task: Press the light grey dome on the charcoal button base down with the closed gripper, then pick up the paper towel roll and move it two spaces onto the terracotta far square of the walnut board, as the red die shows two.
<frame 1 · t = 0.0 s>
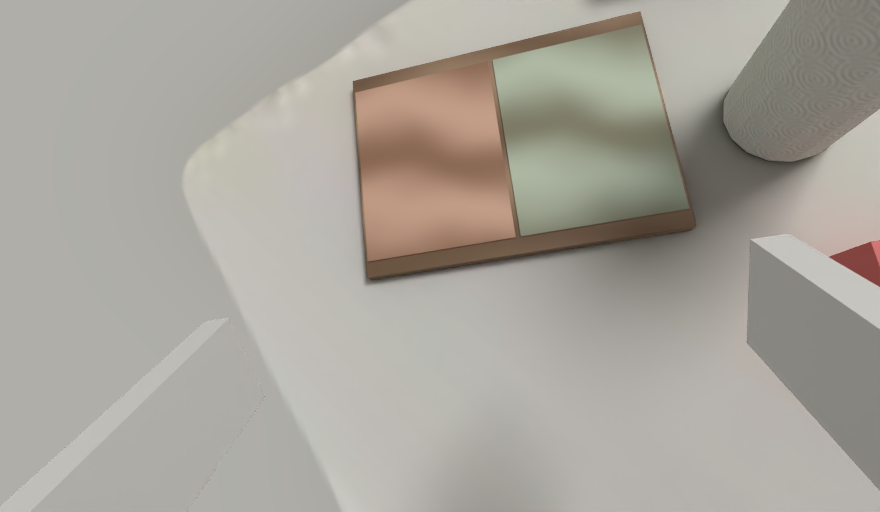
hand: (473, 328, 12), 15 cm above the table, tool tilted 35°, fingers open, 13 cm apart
game board: (504, 150, 29), on the table
paper towel roll: (786, 111, 26), on the table
red die: (875, 299, 23), on the table
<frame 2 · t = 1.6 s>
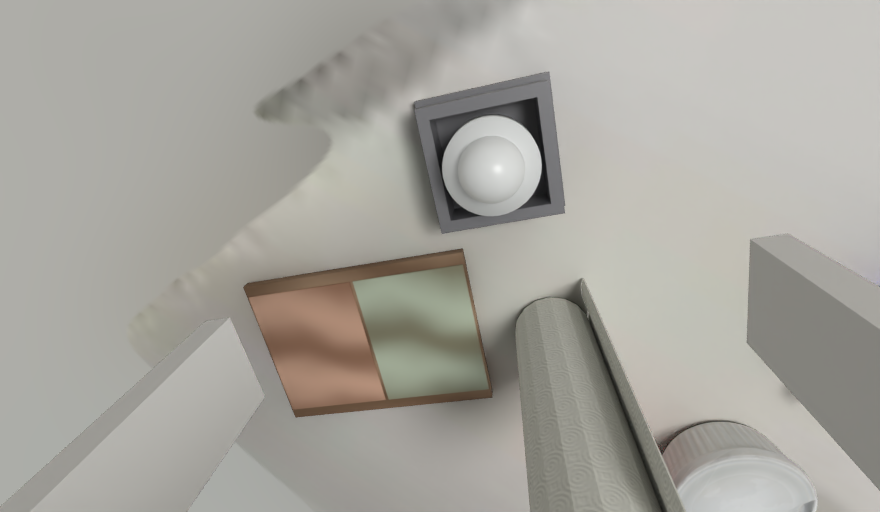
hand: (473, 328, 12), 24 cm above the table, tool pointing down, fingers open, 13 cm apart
game board: (372, 338, 40), on the table
button base: (491, 152, 33), on the table
ramekin: (711, 457, 42), on the table
pop dome: (491, 168, 28), point 6 cm above the table, slide at 0.0 cm
paper towel roll: (557, 323, 38), on the table
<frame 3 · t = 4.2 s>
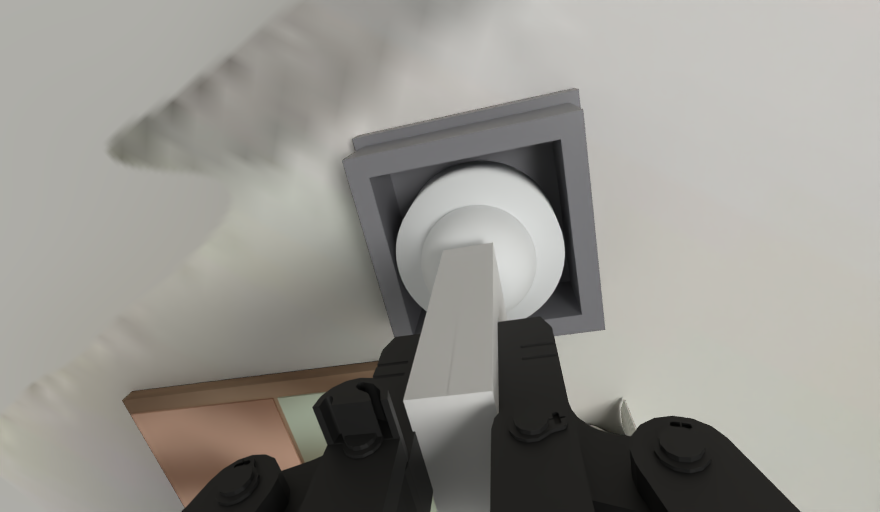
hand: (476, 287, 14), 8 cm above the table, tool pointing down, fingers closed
game board: (314, 466, 28), on the table
button base: (481, 216, 21), on the table
pop dome: (478, 257, 16), point 5 cm above the table, slide at 1.2 cm, touching gripper
paper towel roll: (582, 455, 26), on the table
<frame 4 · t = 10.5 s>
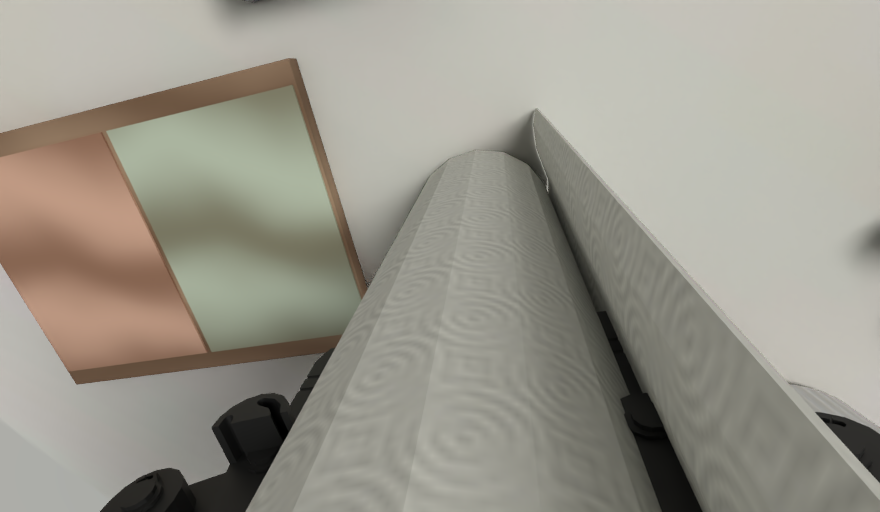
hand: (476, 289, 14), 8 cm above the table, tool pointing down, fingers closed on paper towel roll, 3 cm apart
game board: (172, 245, 24), on the table
ramekin: (751, 444, 25), on the table
paper towel roll: (494, 206, 21), on the table, touching gripper
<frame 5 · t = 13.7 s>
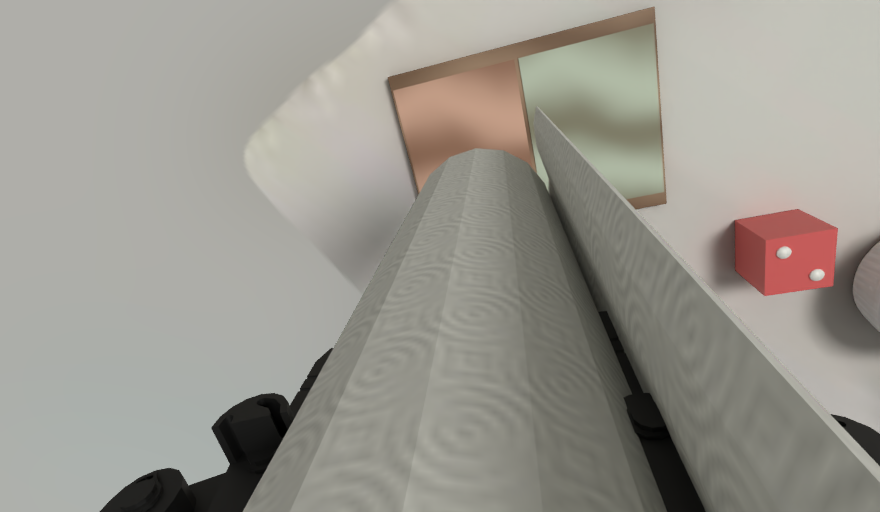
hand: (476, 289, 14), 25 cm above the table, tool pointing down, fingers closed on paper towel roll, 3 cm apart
game board: (529, 140, 36), on the table
paper towel roll: (494, 205, 21), point 16 cm above the table, touching gripper
red die: (765, 240, 37), on the table
when the fingers open (10 cm above the table, at t = 16.7 s): paper towel roll drops 1 cm, resting on game board.
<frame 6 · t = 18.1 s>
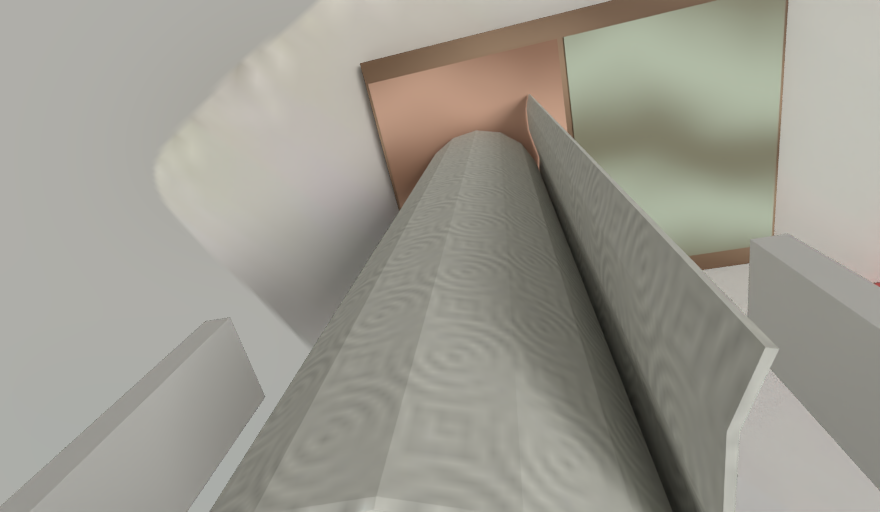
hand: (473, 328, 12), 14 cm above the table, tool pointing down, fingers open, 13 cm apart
game board: (571, 162, 24), on the table
paper towel roll: (492, 181, 24), point 1 cm above the table, touching game board
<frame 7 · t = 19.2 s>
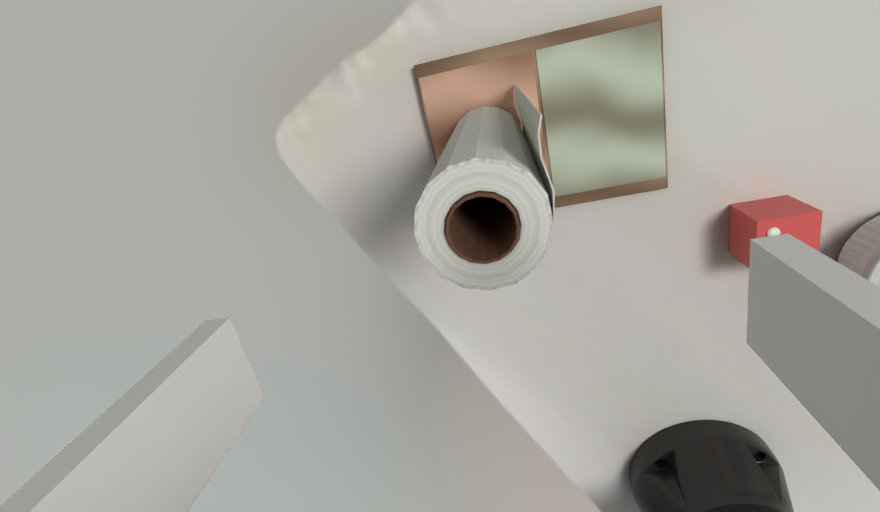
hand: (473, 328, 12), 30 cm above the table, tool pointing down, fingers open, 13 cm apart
game board: (542, 126, 39), on the table
paper towel roll: (493, 138, 39), point 1 cm above the table, touching game board
red die: (757, 224, 40), on the table
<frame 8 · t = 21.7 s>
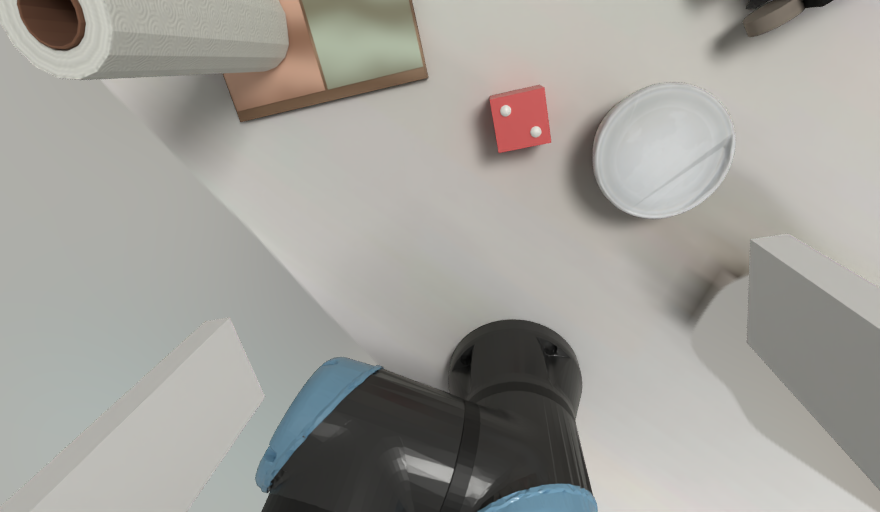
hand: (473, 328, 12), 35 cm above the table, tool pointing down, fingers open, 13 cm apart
game board: (309, 20, 41), on the table
ramekin: (644, 144, 43), on the table
paper towel roll: (264, 32, 41), point 1 cm above the table, touching game board
red die: (518, 115, 42), on the table
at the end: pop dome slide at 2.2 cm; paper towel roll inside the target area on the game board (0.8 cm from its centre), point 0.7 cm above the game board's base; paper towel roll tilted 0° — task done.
